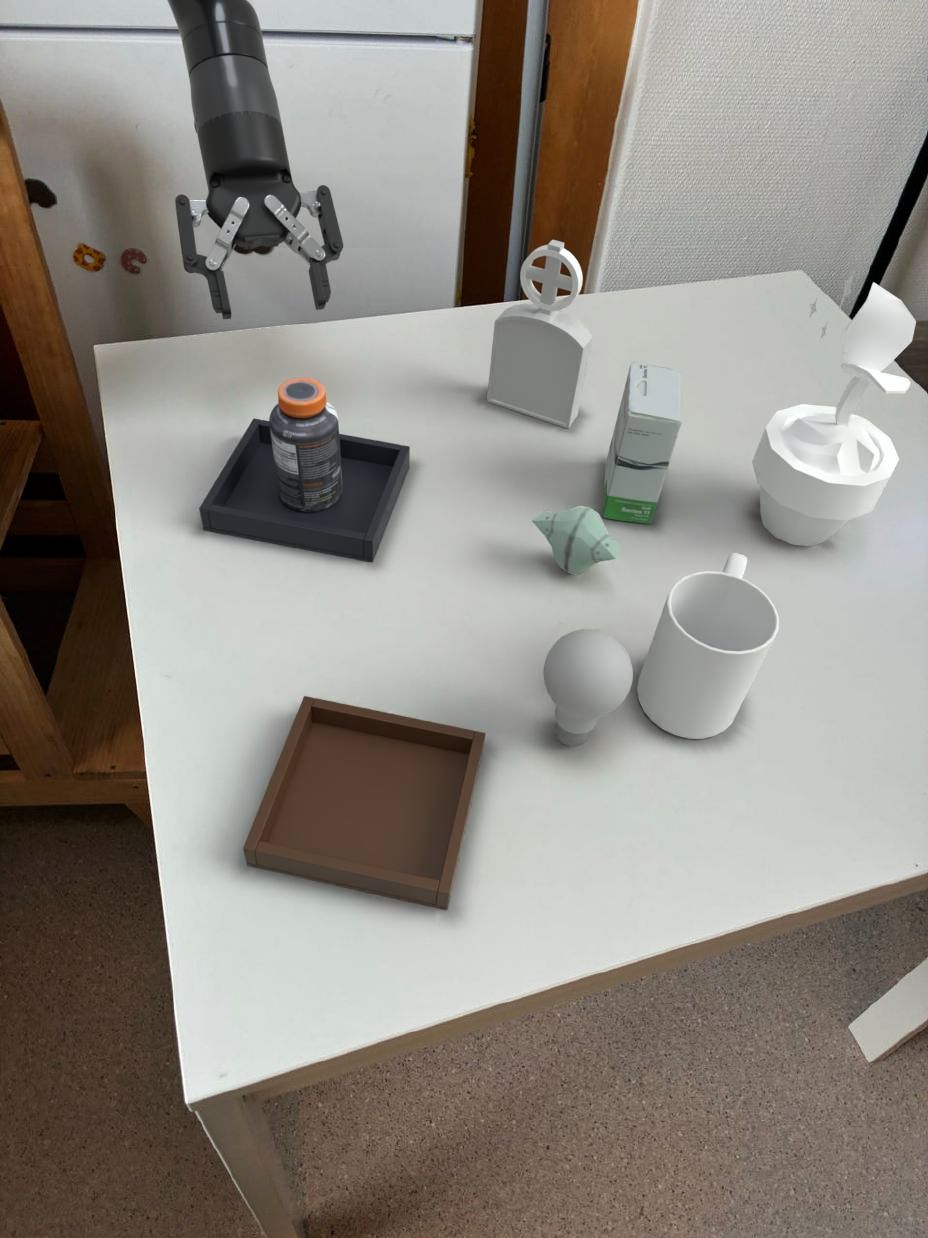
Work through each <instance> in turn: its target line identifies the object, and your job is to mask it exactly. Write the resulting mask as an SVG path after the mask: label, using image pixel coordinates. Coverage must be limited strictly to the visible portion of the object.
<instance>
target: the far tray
mask: <svg viewBox="0 0 928 1238" xmlns="http://www.w3.org/2000/svg"><path fill="white" fill-rule="evenodd" d="M339 437H340V438H339V440H340V456H341V474H342V494H341V496H340V498H339V499H338V501H337V502H336V503H334V504H333V505H332V506H330V507H328V508H326V509H323V510H319V511H312V512H306V511H299V510H295V509H293V508H291V507H289V506H287V505H286V504H284V503H283V502H282V500H281V499H280V497H279V494H278V489H277V479H276V471H275V463H274V455H273V447H272V439H271V431H270V422H269V420H265V419H260V418H253V419H252V420H251V422H250V423H249V425H248V427H247V429H246V430H245V432H244V433H243V435H242V437H241V438H240V440H239V441H238V444H237V445H236V446H235V448H234V450H233V451H232V453H231V455H230V456H229V458H228V460H227V461H226V463H225V465H224V466H223V467H222V470H221V471H220V473H219V475H218V476H217V478H216V480H215V481H214V483H213V484H212V486H211V488H210V489H209V491H208V493H207V494H206V495H205V497H204V499H203V501H202V503H201V504H200V506H199V507H198V510H199V515H200V520H201V525H202V530H203V531H208V532H211V533H216V534H217V533H218V534H223V535H228V536H233V537H238V538H243V539H247V540H248V539H249V540H253V541H259V542H263V543H264V542H265V543H270V544H275V545H278V546H279V545H280V546H285V547H291V548H296V549H301V550H306V551H311V552H316V553H322V554H327V555H333V556H338V557H343V558H347V559H353V560H358V561H363V562H367V563H369V562H370V563H374V560H375V558H376V556H377V552H378V550H379V548H380V545H381V542H382V540H383V538H384V534H385V532H386V530H387V527H388V524H389V521H390V519H391V516H392V514H393V511H394V509H395V506H396V504H397V501H398V498H399V495H400V493H401V491H402V488H403V485H404V483H405V481H406V477H407V475H408V472H409V470H410V459H411V456H410V454H411V446H409V445H406V444H405V445H404V444H400V443H399V444H398V443H394V442H388V441H381V440H376V439H372V438H365V437H360V436H355V435H349V434H344V433H343V434H342V433H339Z"/></svg>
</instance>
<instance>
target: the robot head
mask: <svg viewBox="0 0 928 1238" xmlns="http://www.w3.org/2000/svg"><path fill="white" fill-rule="evenodd" d="M531 522H532V523H533V524H534V525H535V527H537V529H538V530H539V531H540V532H541V534H542V535H543V536H544V537H545V539H546V540H547V542H548V544H549V546H550V547H551V550H552V554H553V555H552V556H553V559H554V560H555V562H556V565H558V567H559V568H561V569H562V570H563V571H565V572H566V573H568V574H572V575H577V576H578V575H580V574H583V573H586V572H588V571H590V570H591V569H592V567H594V566H595V565H597V564H598V563H601V562H607V561H611V560H616V559H617V555H618V551H619V545H620V543H619V542H618V541H616V540H615V539H614V538H612V537H611V536H610V533H609V531H608V529H607V527H606V525H605V524H604V520H603V519H602V517H601V515H600V513H599V512H598V511H596V510H594V509H593V508H592V507H590V506H585V505H578V506H574V507H573V508H570V509H569V508H568V509H566V510H564V511H559V512H553V511H549V510H543V511H542V512H541V513H539V514H538V515H537V516H536V517H534V518H533V519H532V520H531Z"/></svg>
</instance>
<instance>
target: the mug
mask: <svg viewBox="0 0 928 1238" xmlns="http://www.w3.org/2000/svg"><path fill="white" fill-rule="evenodd" d="M748 562H749V561H748V557H746V555H743V554H740V553H737V552H730V553H729V555H728V557H727V559H726V561H725V563H724V567H723V568H722V571H714V570H713V571H712V570H704V571H696V572H692V573H690V574H687V575H685V576H682V577H681V578H680V579H678V580H677V581H676V582H674V584H672V586H671V587H670V590H669V591H668V593H667V597H666V598H665V602H664V605H663V608H662V611H661V614H660V616H659V619H658V622H657V626H656V629H655V632H654V634H653V637H652V640H651V643H650V645H649V647H648V648H649V649H648V651H647V654H646V656H645V661H644V663H643V666H642V669H641V672H640V674H639V677H638V681H637V688H636V692H637V698H638V702H639V704H640V707H641V709H642V710H643V712H644V714H645V715H646V716H647V717H648V718H649V719H650V721H651V722H652V723H654V724H655V725H656V726H658V727H659V728H660V729H661V730H663V731H665V732H668V733H669V734H672V735H674V736H676V737H681V738H684V739H691V740H692V739H693V740H702V739H707V738H713V737H715V736H717V735H719V734H721V733H724V732H725V731H726V730H727V729H728V728H729V727H730V726H731V725H732V724H733V722H734V720H735V718H736V716H737V715H738V712H739V710H740V708H741V707H742V704H743V702H744V700H745V698H746V696H747V694H748V692H749V690H750V688H751V686H752V684H753V682H754V680H755V678H756V676H757V674H758V672H759V671H760V668H761V666H762V664H763V663H764V660H765V658H766V656H767V654H768V653H769V650H770V648H771V646H772V644H773V642H774V640H775V638H776V636H777V634H778V632H779V629H780V618H779V615H778V611H777V607H776V605H774V603H773V602H772V600H771V598H770V597H769V596H768V595H767V594H766V593H765V592H764V591H763V590H762V589H761V588H759V587H758V586H756V585H755V584H753V583H752V582H750V581H749V580H746V579H744V578H743V577H744V574H745V572H746V568H747V564H748Z"/></svg>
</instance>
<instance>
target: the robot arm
mask: <svg viewBox="0 0 928 1238" xmlns="http://www.w3.org/2000/svg"><path fill="white" fill-rule="evenodd" d="M166 1H167V4H168V6H169V8H170V10H171V13H172V15H173V18H174V21H175V24H176V26H177V28H178V32H179V36H180V39H181V44H182V50H183V54H184V59H185V63H186V64H185V65H186V69H187V74H188V78H189V84H190V85H189V86H190V100H191V109H192V114H193V119H194V120H193V121H194V122H193V123H194V124H193V125H194V130H195V133H196V135H197V140H198V144H199V151H200V154H201V155H200V156H201V159H202V160H201V161H202V166H203V171H204V175H205V180H206V185H207V192H208V194H207V197H206V199H189V197H188V196H187V195H185V194H178V195H177V196H176V197H175V200H174V204H175V213H176V221H177V229H178V235H179V243H180V250H181V257H182V264H183V269H184V271H185V272H186V273H188V274H194V273H195V274H198V275H202V276H203V277H205V279H206V280H207V285H208V289H209V295H210V299H211V305H212V309H213V310H214V312H215V314H221V316H222V319H223V320H231V319H232V308H231V304H230V299H229V293H228V288H227V283H226V278H225V272H224V270H223V268H224V267H225V264H226V263H227V261H228V260H229V258H230V256H231V255H232V253H233V251H234V249H235V247H236V245H237V246H238V247H242V248H243V250H250V249H252V250H253V249H255V248H258V247H261V246H262V247H267V248H274V247H275V248H276V247H279V245H280V244H282V243H284V244H285V245H286V247H288V248H289V249H290V250H291V251H292V252H293V253H295V254H297V255H299V256H300V257H301V258H302V259H303V260H304V261H305V262H306V263H307V264H308V265H309V268H308V276H309V281H310V286H311V291H312V297H313V302H314V307H315V310H316V311H320V310H324V309H326V305H327V303H328V302H329V301H330V299H331V294H332V291H331V286H330V279H329V274H328V269H327V264H329V263H330V262H333V261H338V260H339V258H340V256H341V253H342V251H343V250H344V241H343V237H342V234H341V229H340V225H339V222H338V221H339V220H338V216H337V212H336V209H335V208H336V207H335V205H334V200H333V197H332V192H331V189H330V188H329V187H328V186H327V185H325V184H322V185H319V186H318V187H317V189H316V190H312V191H303V192H300V191H299V190H298V188H297V187H296V186H295V184H294V181H293V176H292V172H291V168H290V167H291V166H290V161H289V156H288V150H287V146H286V141H285V139H286V138H285V133H284V129H283V128H284V127H283V123H282V118H281V113H280V108H279V103H278V99H277V94H276V90H275V88H274V85H273V82H272V79H271V75H270V70H269V66H268V61H267V54H266V50H265V45H264V39H263V34H262V29H261V23H260V20H259V17H258V14H257V11H256V9H255V8H254V5H252V4H251V3H250V2H249V0H166ZM301 208H304V209H307V211H308V212H309V214H310V216H311V217H313V218H315V219H317V221H318V224H319V225H318V226H319V228H320V232H321V236H322V240H323V245H320V244H319V243H318V242H317V241H316V240H315V239H314V238H313V237H312V236H311V235H310V233H309V231H308V229H306V227H305V226H304V225H303V224H302V223H301V222H300V221H299V220H298V219H297V217H298V215H299V213H300V212H301ZM205 215H207V216H208V218H209V219H211V221H212V222H213V223H214V224H215V225H216V226H217V227H218V228H219V229H220V231H219V232H218V234H217V236H216V238H215V242H214V243H213V245H212V247H211V249H210V251H209V253H208V255H207V256H206V255H202V254H199V253H198V252H197V245H196V238H195V231H194V228H198V227H199V226H200V225H201V223H202V218H203V216H205Z"/></svg>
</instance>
